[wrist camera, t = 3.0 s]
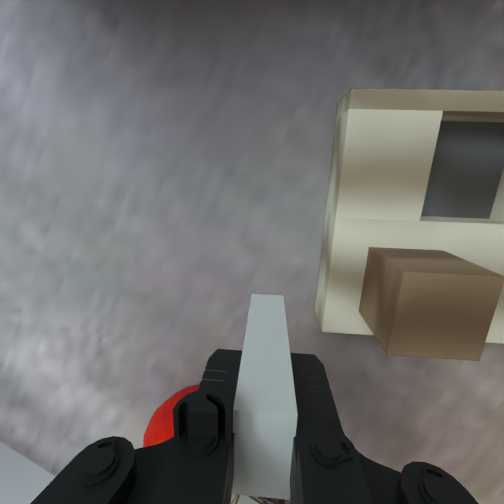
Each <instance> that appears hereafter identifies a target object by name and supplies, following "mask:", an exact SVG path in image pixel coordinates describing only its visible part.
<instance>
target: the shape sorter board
mask: <svg viewBox="0 0 504 504" xmlns="http://www.w3.org/2000/svg"><path fill="white" fill-rule="evenodd" d="M369 247H381V248H402V249H424V250H443V251H446V252H448V253H451V254H453V255H455V256H458V257H460V258H462V259H465V260H467V261H469V262H472V263H474V264H476V265H479V266H481V267H484V268H486V269H488V270H491V271H493V272H495V273H498V274H500V275H502V276H504V91H496V90H429V89H363V88H351V89H350V90H349V91H348V93H347V94H346V95H345V96H344V97H343V98H342V99H341V100H340V101H339V102H338V104H337V113H336V122H335V132H334V141H333V150H332V159H331V168H330V177H329V187H328V196H327V205H326V214H325V223H324V232H323V241H322V251H321V260H320V269H319V278H318V287H317V296H316V306H315V313H316V316H317V319H318V322H319V325H320V327H321V330H322V332H330V333H346V334H362V335H374V334H373V333H372V331H371V330H370V328H369V327H368V325H367V324H366V322H365V320H364V319H363V317H362V316H361V314H360V313H359V305H360V299H361V293H362V286H363V280H364V274H365V268H366V262H367V255H368V249H369ZM485 342H487V343H502V344H504V285H503V288H502V291H501V294H500V297H499V300H498V303H497V307H496V310H495V313H494V316H493V319H492V322H491V325H490V328H489V332H488V335H487V338H486V341H485Z"/></svg>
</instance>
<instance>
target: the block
mask: <svg viewBox="0 0 504 504" xmlns="http://www.w3.org/2000/svg"><path fill="white" fill-rule="evenodd" d="M503 285H504V276H502V275H500V274H498V273H495V272H493V271H491V270H488V269H486V268H484V267H481V266H479V265H476V264H474V263H472V262H469V261H467V260H465V259H462V258H460V257H458V256H455V255H453V254H451V253H448V252H446V251H443V250H424V249H402V248H381V247H369V249H368V255H367V262H366V268H365V274H364V280H363V286H362V293H361V299H360V305H359V313H360V314H361V316H362V317H363V319H364V320H365V322H366V324H367V325H368V327H369V328H370V330H371V331H372V333H373V334H374V336H375V337H376V339H377V340H378V342H379V343H380V345H381V346H382V348H383V349H384V351H385V352H386V354H387V355H399V356H414V357H429V358H444V359H458V360H473V361H479V360H480V356H481V353H482V350H483V347H484V344H485V341H486V338H487V335H488V332H489V328H490V325H491V322H492V319H493V316H494V313H495V310H496V307H497V303H498V300H499V297H500V294H501V291H502V288H503Z"/></svg>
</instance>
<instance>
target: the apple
mask: <svg viewBox="0 0 504 504" xmlns="http://www.w3.org/2000/svg"><path fill="white" fill-rule="evenodd" d="M199 386H200V385H195V386H191V387H187V388H184V389H183V390H181V391H179V392H177V393H175V394H174V395H173V396H171V397H170V398H169V399H168V400H167V401H165V402H164V403H163V404H162V405H161V406H160V407H159V408H158V409H157V410H156V411H155V412H154V414H153V416H152V418H151V420H150V422H149V425H148V427H147V429H146V432H145V434H144V441H143V447H147V446H152V445H156V444H159V443H162V442H165V441H167V440H168V439H170V438H172V437H173V436H174V426H173V408H174V407H175V405H176V404H177V402H178V401H179V400H180V399H181V398H183V397H184V396H185V395H187V394H189V393H191V392H194V391H197V390H198V389H199Z"/></svg>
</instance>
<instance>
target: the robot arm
mask: <svg viewBox="0 0 504 504" xmlns="http://www.w3.org/2000/svg"><path fill="white" fill-rule="evenodd" d="M173 426H174V436H173V437H172V438H170V439H168V440H167V441H165V442H162V443H159V444H156V445H152V446H147V447H143V448H139V449H135V450H134V448H133V445H132V443H131V442H130V441H128V440H127V439H125V438H123V437H115V436H113V437H108V438H103V439H100V440H98V441H96V442H94V443H92V444H90V445H88V446H87V447H86V448H85V449H84V450H82V451H81V452H80V453H79V454H78V455H76V456H75V457H74V459H73V460H72V461H71V462H70V463H69V464H68V465H67V466H66V467H65V468H64V469H63V470H62V471H61V472H60V473H59V474H58V475H57V476H56V477H55V478H54V479H53V481H52V482H51V483H50V484H49V485H48V486H47V487H46V488H45V489H44V490H43V491H42V492H41V493H40V494H39V495H38V496H37V497H36V498H35V499H34V501H32V503H31V504H230V503H231V495H232V494H235V495H245V496H255V497H265V498H276V499H286V500H289V498H290V496H291V504H478V503H477V501H476V500H475V499H474V498H473V497H472V495H471V494H470V493H469V492H468V491H467V490H466V489H465V488H464V487H463V486H462V485H461V484H460V483H459V482H458V481H457V480H456V479H455V478H454V477H453V476H451V475H450V474H448V473H447V472H445V471H444V470H442V469H441V468H439V467H436V466H434V465H431V464H428V463H426V462H411V463H409V464H407V465H405V466H404V468H403V470H402V472H398V471H396V470H393V469H391V468H388V467H386V466H383V465H381V464H378V463H376V462H374V461H372V460H370V459H368V458H366V457H365V456H363V455H362V454H361V453H359V452H358V451H357V450H356V449H355V447H354V446H353V444H352V442H351V441H350V440H349V439H348V438H347V437H346V436H345V435H344V432H343V430H342V427H341V423H340V420H339V417H338V413H337V410H336V406H335V403H334V400H333V396H332V393H331V389H330V386H329V382H328V379H327V376H326V372H325V369H324V365H323V364H322V363H321V362H320V360H319V359H318V358H317V357H316V356H315V355H312V354H297V353H290V348H289V339H288V331H287V323H286V314H285V306H284V298H283V296H281V295H264V294H251V300H250V307H249V313H248V319H247V326H246V332H245V338H244V345H243V351H239V350H224V349H217V350H216V351H215V352H214V353H213V354H212V355H211V356H210V357H209V360H208V362H207V365H206V368H205V371H204V374H203V377H202V380H201V383H200V386H199V389H198V390H197V391H194V392H191V393H189V394H187V395H185V396H184V397H183V398H181V399H180V400H179V401H178V402H177V404H176V405H175V407H174V408H173Z"/></svg>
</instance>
